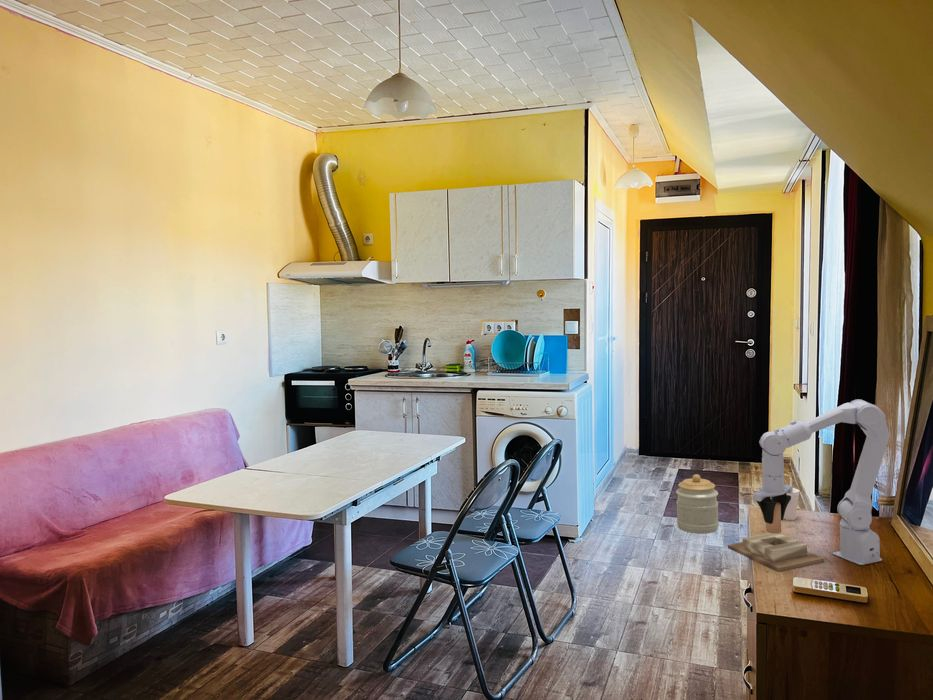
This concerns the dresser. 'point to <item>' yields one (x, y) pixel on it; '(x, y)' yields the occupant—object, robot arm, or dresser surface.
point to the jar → (697, 506)
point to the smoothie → (792, 504)
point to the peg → (775, 520)
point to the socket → (776, 551)
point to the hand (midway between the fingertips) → (773, 521)
